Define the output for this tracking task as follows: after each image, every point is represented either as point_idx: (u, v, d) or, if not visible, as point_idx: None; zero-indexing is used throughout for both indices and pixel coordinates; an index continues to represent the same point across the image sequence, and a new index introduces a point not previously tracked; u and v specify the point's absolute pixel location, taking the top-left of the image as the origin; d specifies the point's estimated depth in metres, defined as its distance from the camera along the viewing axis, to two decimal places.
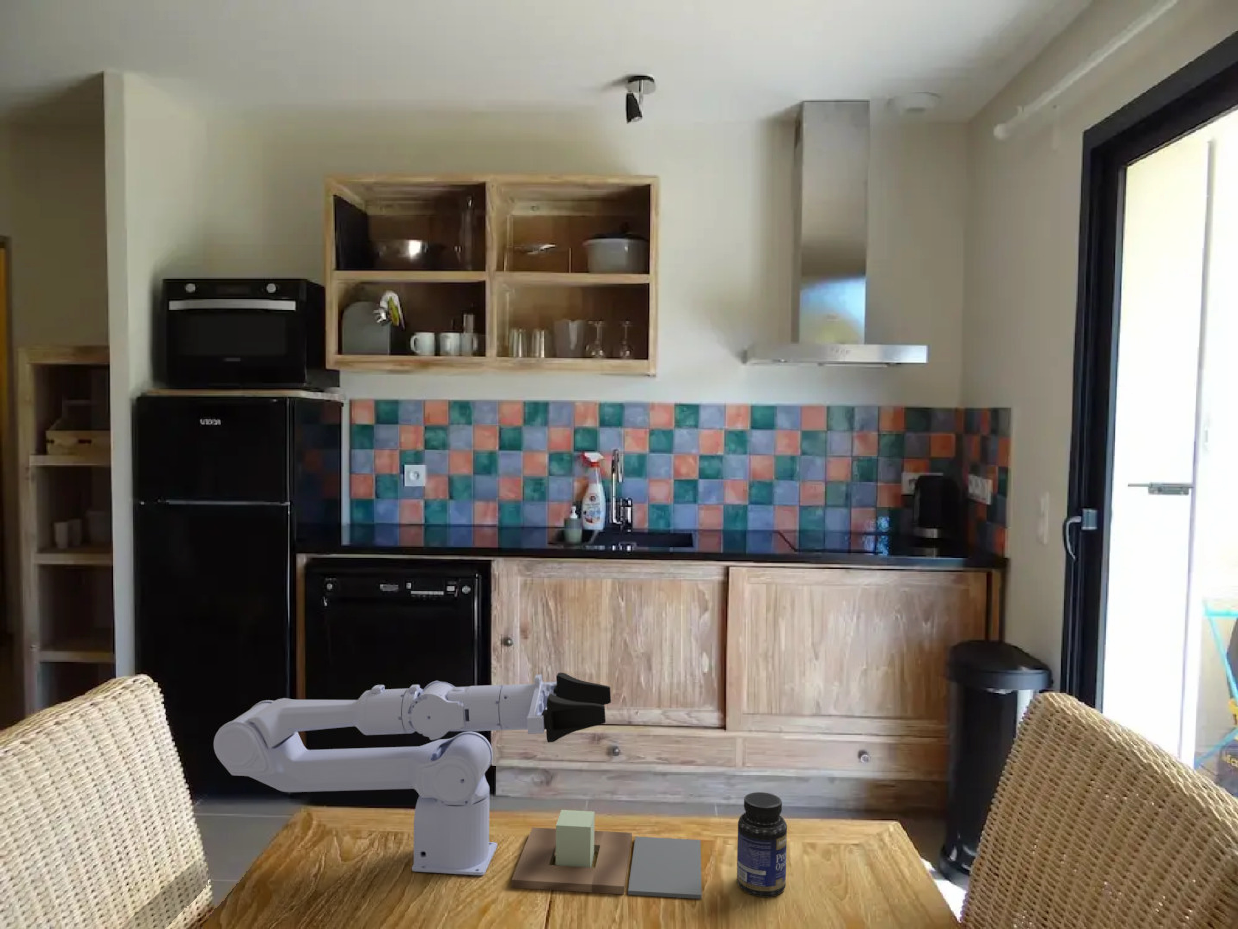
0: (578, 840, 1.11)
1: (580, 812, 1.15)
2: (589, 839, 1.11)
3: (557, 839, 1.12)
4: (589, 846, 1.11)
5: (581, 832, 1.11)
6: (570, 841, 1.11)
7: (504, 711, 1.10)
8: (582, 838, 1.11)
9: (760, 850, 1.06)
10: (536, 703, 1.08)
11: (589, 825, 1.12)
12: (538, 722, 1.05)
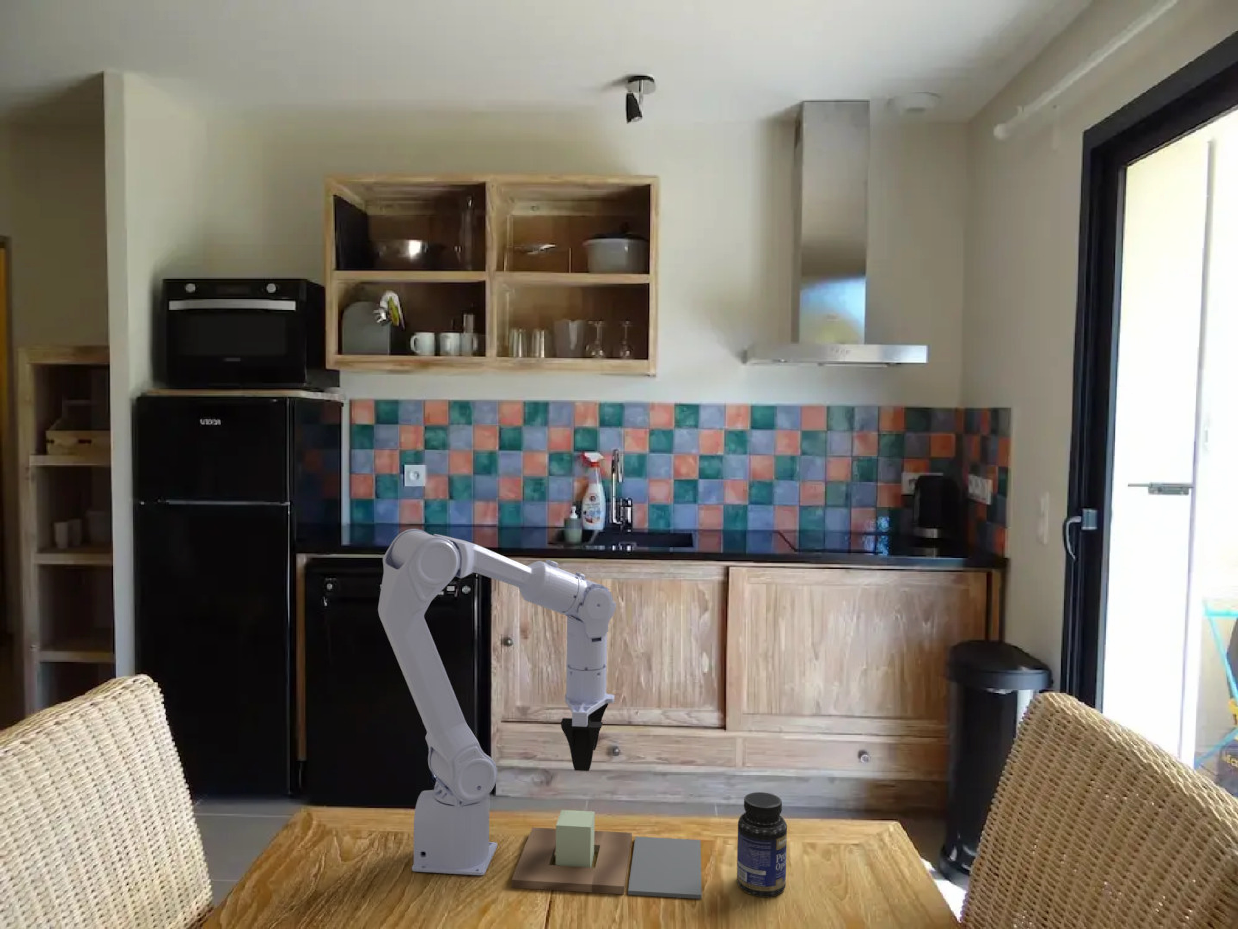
0: (578, 840, 1.11)
1: (580, 812, 1.15)
2: (589, 839, 1.11)
3: (557, 839, 1.12)
4: (589, 846, 1.11)
5: (581, 832, 1.11)
6: (570, 841, 1.11)
7: (587, 675, 1.20)
8: (582, 838, 1.11)
9: (760, 850, 1.06)
10: (595, 710, 1.19)
11: (589, 825, 1.12)
12: (582, 723, 1.16)
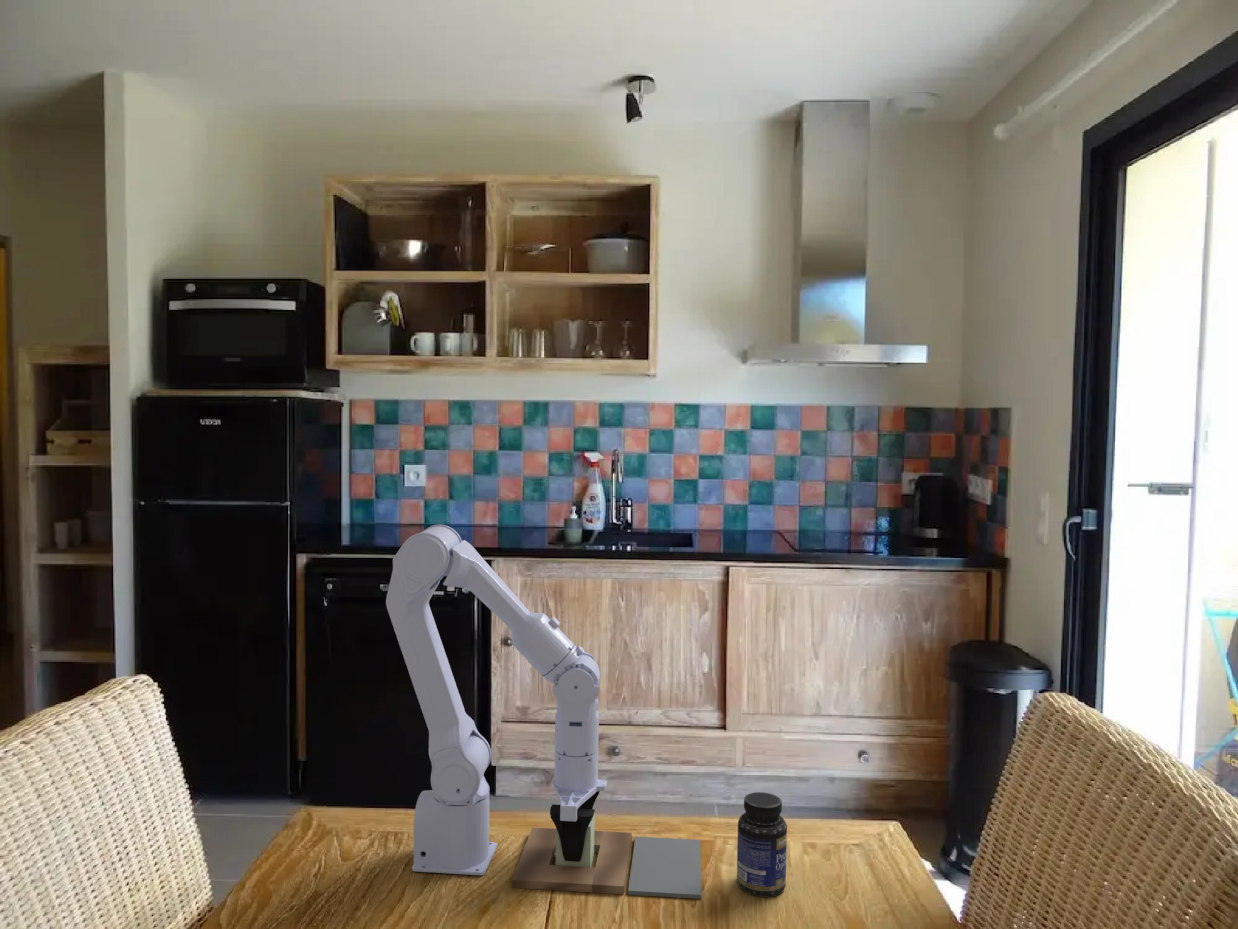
0: None
1: None
2: (589, 839, 1.11)
3: (557, 839, 1.12)
4: (589, 846, 1.11)
5: None
6: None
7: (576, 762, 1.10)
8: None
9: (760, 850, 1.06)
10: (585, 801, 1.09)
11: (589, 825, 1.12)
12: (571, 817, 1.06)
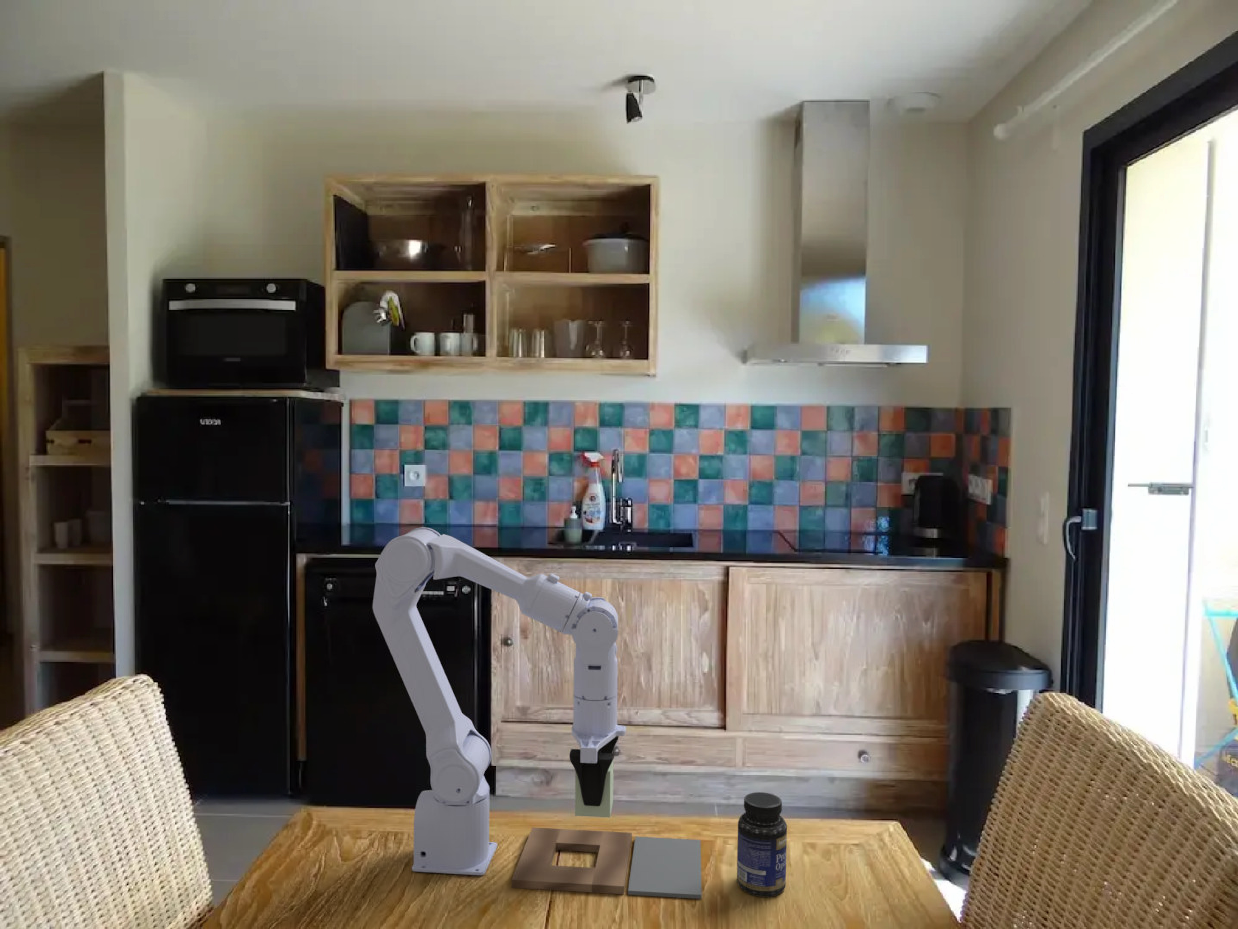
0: None
1: None
2: (609, 783, 1.11)
3: (576, 784, 1.11)
4: (609, 790, 1.11)
5: None
6: None
7: (596, 706, 1.10)
8: None
9: (760, 850, 1.06)
10: (605, 744, 1.09)
11: (609, 770, 1.11)
12: (591, 759, 1.06)
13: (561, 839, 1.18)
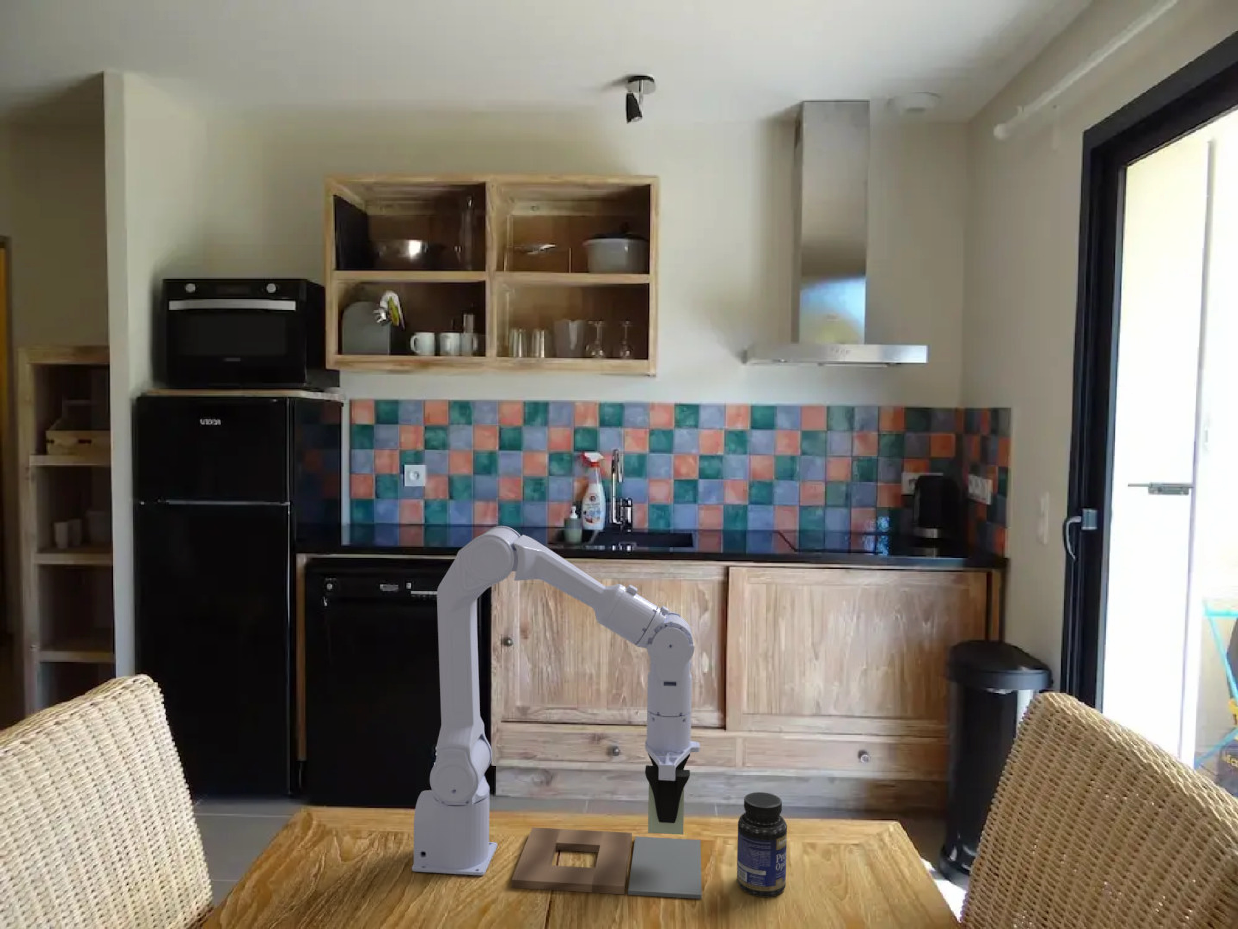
0: None
1: None
2: (682, 800, 1.10)
3: (650, 801, 1.10)
4: (682, 808, 1.10)
5: None
6: None
7: (671, 722, 1.09)
8: None
9: (760, 850, 1.06)
10: (681, 761, 1.08)
11: None
12: (670, 776, 1.05)
13: (561, 839, 1.18)
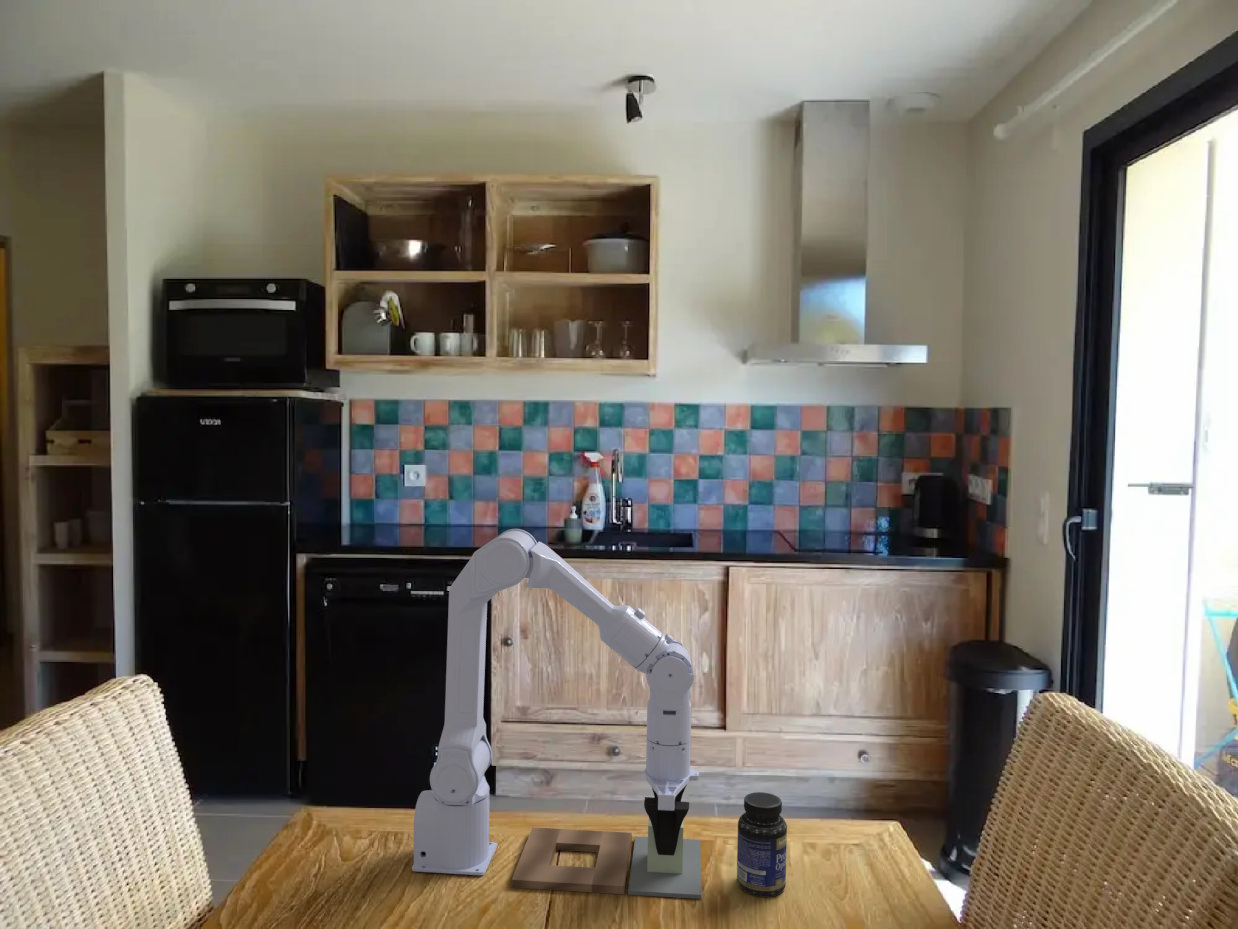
0: None
1: None
2: (682, 840, 1.10)
3: (649, 840, 1.11)
4: (682, 847, 1.10)
5: None
6: None
7: (671, 751, 1.09)
8: None
9: (760, 850, 1.06)
10: (680, 790, 1.08)
11: (681, 826, 1.11)
12: (669, 806, 1.05)
13: (561, 839, 1.18)
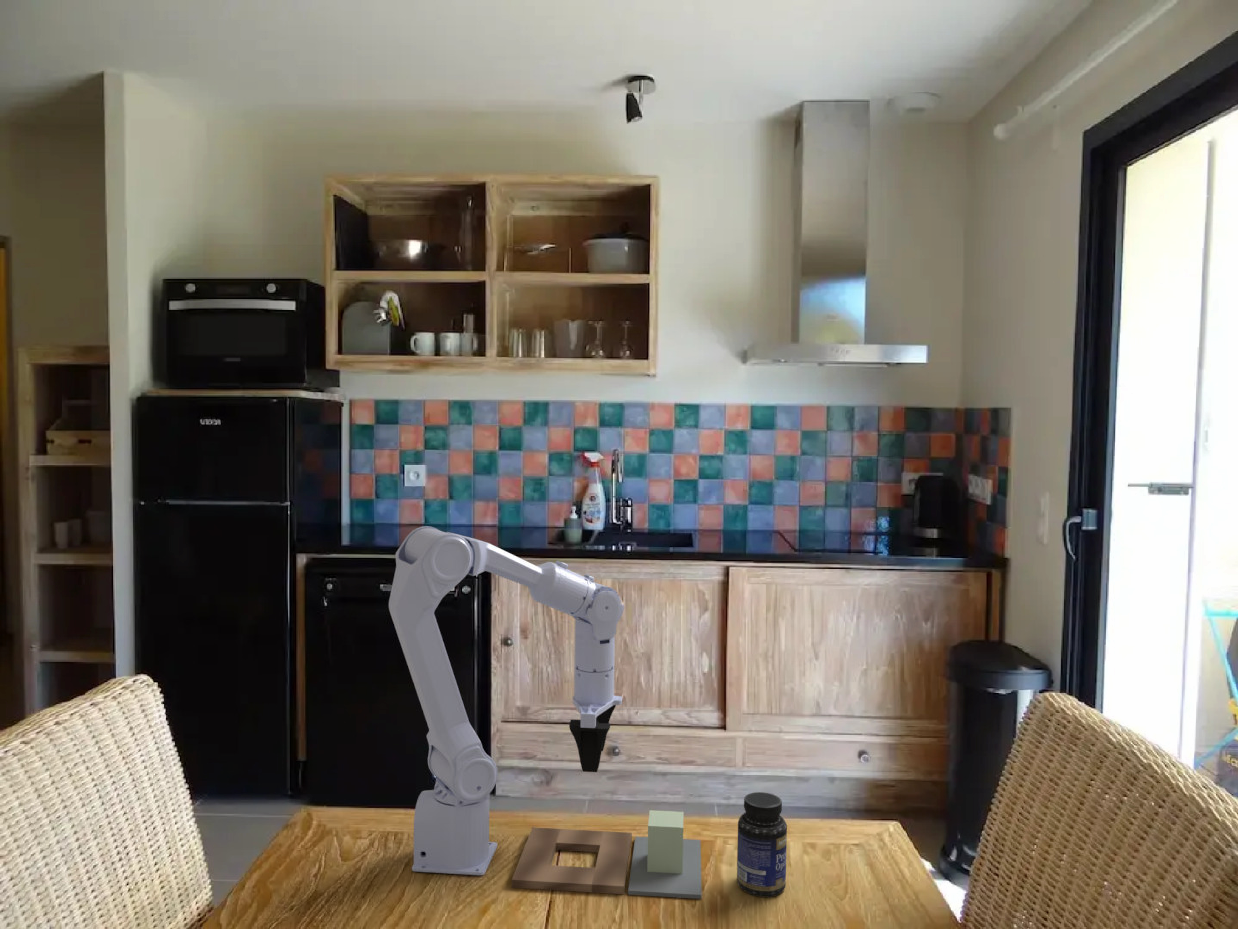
0: (670, 840, 1.10)
1: (669, 812, 1.14)
2: (682, 840, 1.10)
3: (649, 840, 1.11)
4: (682, 847, 1.10)
5: (673, 832, 1.10)
6: (662, 842, 1.10)
7: (595, 677, 1.21)
8: (675, 838, 1.10)
9: (760, 850, 1.06)
10: (603, 712, 1.20)
11: (681, 826, 1.11)
12: (590, 724, 1.17)
13: (561, 839, 1.18)
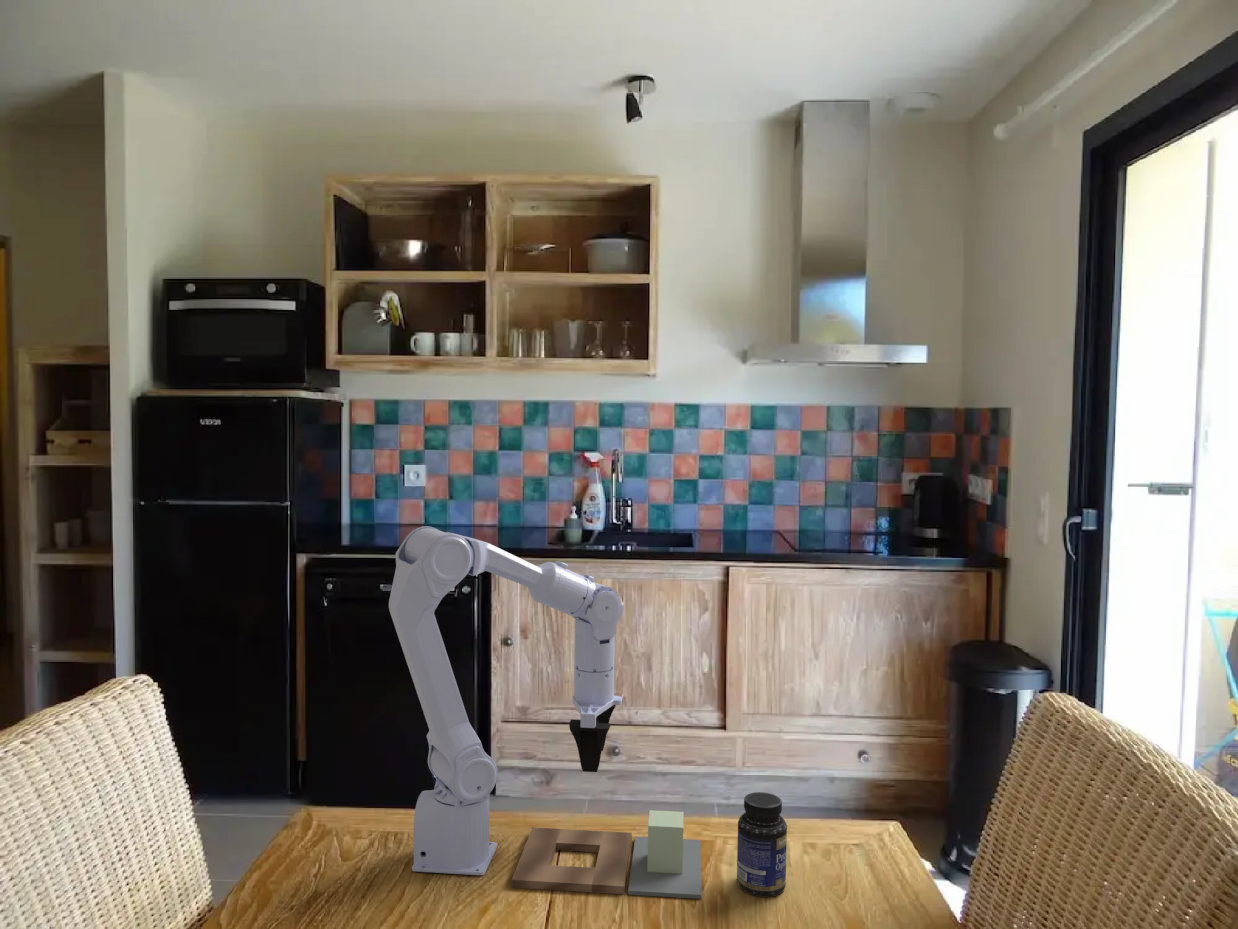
0: (670, 840, 1.10)
1: (669, 812, 1.14)
2: (682, 840, 1.10)
3: (649, 840, 1.11)
4: (682, 847, 1.10)
5: (673, 832, 1.10)
6: (662, 842, 1.10)
7: (595, 677, 1.21)
8: (675, 838, 1.10)
9: (760, 850, 1.06)
10: (603, 711, 1.20)
11: (681, 826, 1.11)
12: (590, 724, 1.17)
13: (561, 839, 1.18)
